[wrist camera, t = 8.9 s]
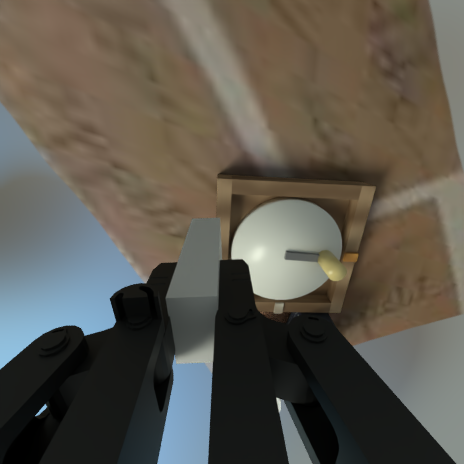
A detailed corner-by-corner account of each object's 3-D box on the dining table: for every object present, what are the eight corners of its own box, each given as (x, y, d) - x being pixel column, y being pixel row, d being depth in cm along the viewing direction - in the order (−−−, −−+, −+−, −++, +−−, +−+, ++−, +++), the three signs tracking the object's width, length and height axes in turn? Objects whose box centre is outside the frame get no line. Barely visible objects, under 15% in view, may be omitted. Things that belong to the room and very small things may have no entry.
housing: (217, 174, 35) (217, 179, 32) (362, 181, 37) (377, 187, 33) (213, 297, 44) (212, 312, 40) (331, 300, 45) (341, 314, 41)
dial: (225, 289, 41) (226, 315, 35) (237, 191, 35) (240, 203, 29) (321, 295, 43) (337, 322, 37) (349, 202, 36) (375, 216, 30)
